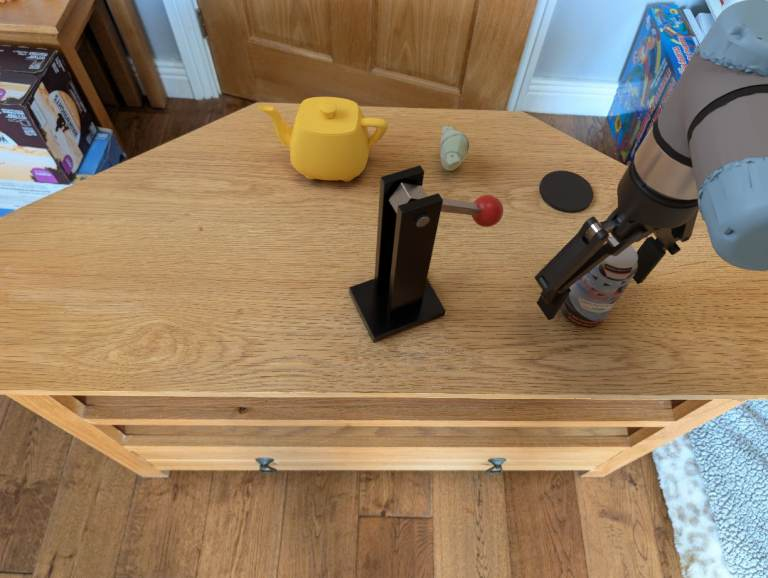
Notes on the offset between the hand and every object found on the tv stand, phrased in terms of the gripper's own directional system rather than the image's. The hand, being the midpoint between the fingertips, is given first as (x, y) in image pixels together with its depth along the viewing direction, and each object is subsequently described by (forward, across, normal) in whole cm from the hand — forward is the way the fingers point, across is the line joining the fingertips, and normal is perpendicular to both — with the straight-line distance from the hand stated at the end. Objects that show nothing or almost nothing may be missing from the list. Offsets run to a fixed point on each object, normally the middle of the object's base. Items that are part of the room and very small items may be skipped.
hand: (590, 292), depth 70 cm
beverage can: (+4, 0, 0) cm, 4 cm away
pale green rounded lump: (+4, -4, +29) cm, 29 cm away
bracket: (+4, -22, +10) cm, 24 cm away
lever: (-12, -18, +10) cm, 23 cm away
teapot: (+4, -21, +37) cm, 43 cm away
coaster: (+4, +10, +18) cm, 21 cm away
